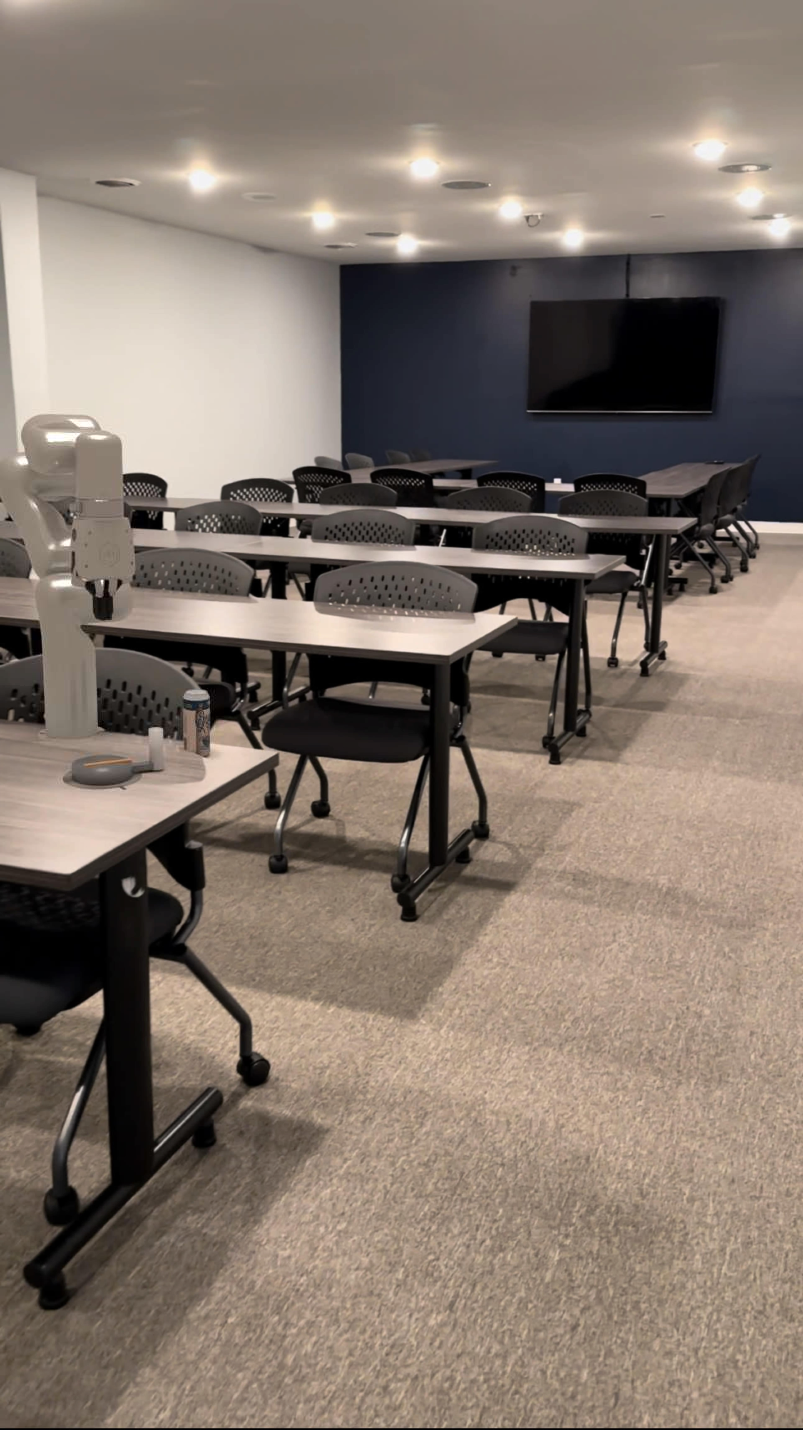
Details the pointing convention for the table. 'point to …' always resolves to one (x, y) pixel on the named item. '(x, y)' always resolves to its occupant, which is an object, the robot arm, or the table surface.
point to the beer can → (196, 721)
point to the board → (70, 781)
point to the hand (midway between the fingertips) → (103, 618)
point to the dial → (118, 763)
